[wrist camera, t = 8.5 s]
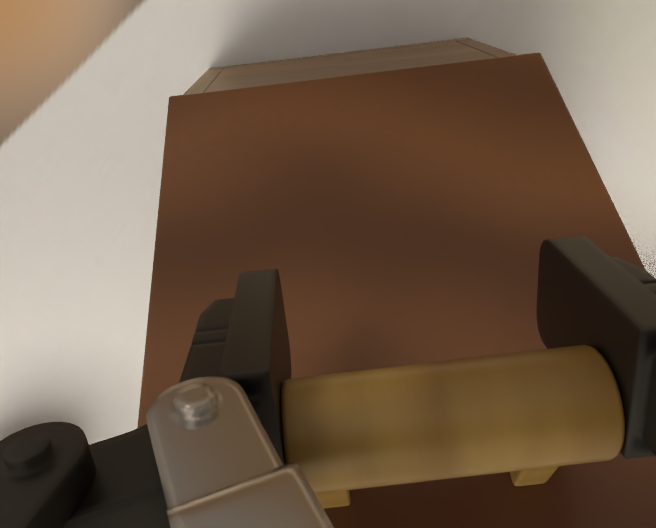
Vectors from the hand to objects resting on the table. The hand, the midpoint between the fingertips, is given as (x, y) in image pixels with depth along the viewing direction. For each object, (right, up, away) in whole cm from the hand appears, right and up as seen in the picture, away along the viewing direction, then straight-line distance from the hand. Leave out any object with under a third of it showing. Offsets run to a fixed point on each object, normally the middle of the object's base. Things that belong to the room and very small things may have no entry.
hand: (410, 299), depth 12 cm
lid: (0, 0, +5) cm, 5 cm away
